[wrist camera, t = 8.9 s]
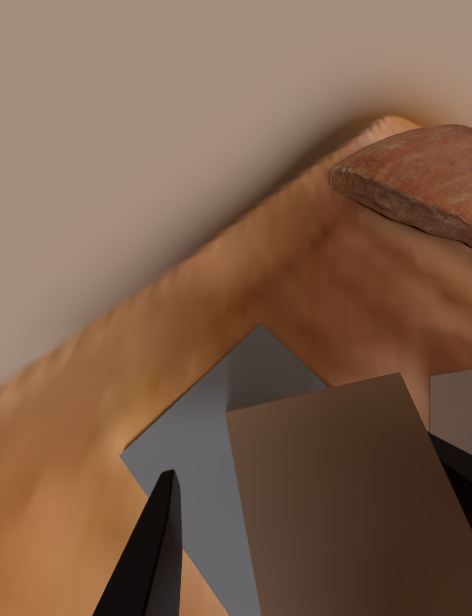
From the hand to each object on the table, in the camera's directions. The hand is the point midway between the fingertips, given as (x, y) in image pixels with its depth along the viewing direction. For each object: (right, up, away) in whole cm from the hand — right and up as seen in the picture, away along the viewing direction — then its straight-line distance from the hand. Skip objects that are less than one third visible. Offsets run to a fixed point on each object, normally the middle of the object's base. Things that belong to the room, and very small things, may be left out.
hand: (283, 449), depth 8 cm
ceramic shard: (+17, +14, +15) cm, 27 cm away
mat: (0, -4, +6) cm, 8 cm away
